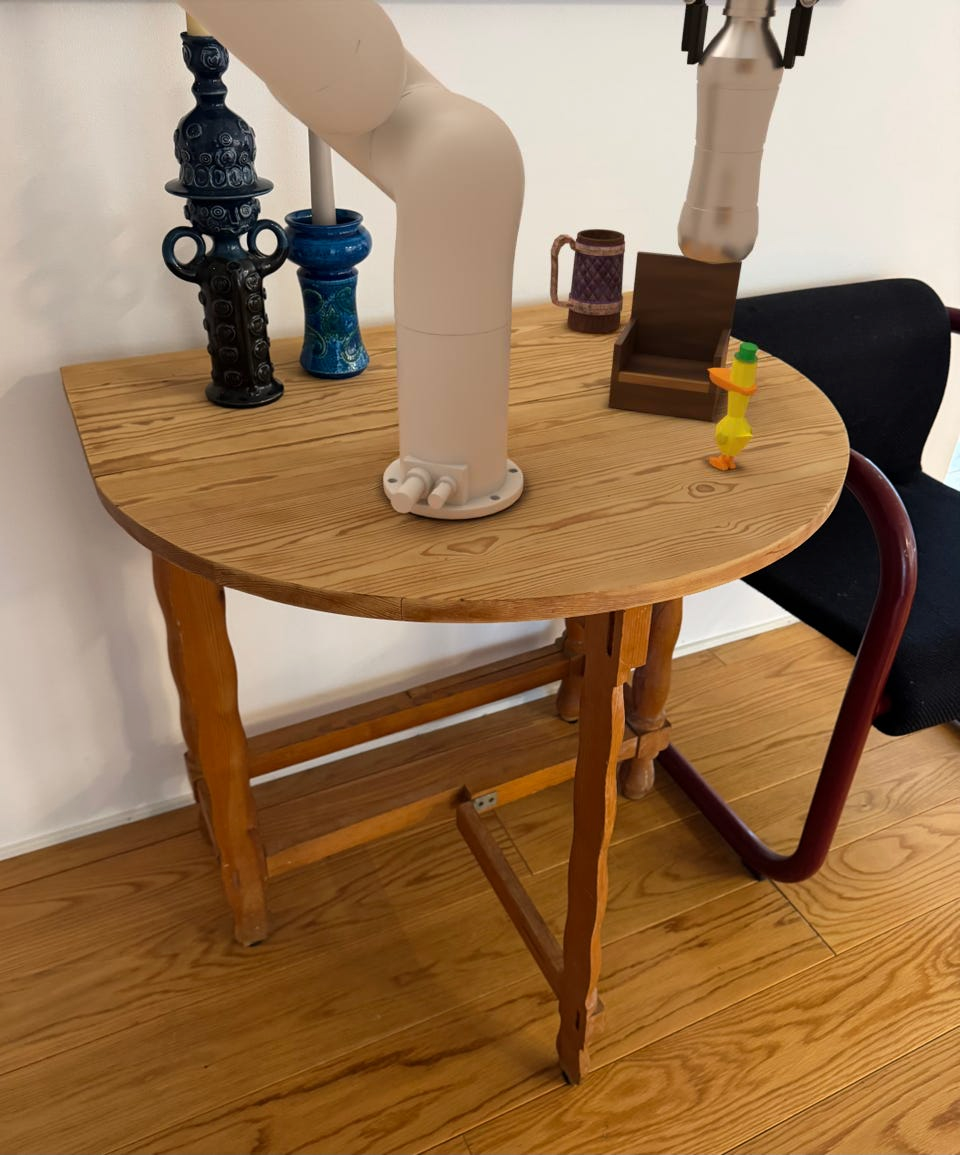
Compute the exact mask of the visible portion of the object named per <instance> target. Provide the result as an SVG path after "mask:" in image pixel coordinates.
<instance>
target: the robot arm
mask: <svg viewBox="0 0 960 1155" xmlns="http://www.w3.org/2000/svg"><path fill="white" fill-rule="evenodd" d="M173 1H174V2H175V3H176V4H177V5H178V6H179V7H181V9H183V10H184V11H185V12H186V13H187V14H188V15H189V16H190V17H191V18H192V19H194V20H195V21H196V22H197V24H199V25H200V26H201V27H202V28H203V29H204V30H206V31H207V32H208V33H209V35H210V36H212V37H213V39H215V40H216V41H217V42H218V43H219V44H220V45H221V46H223V47H224V49H226V50H227V51H229V53H230V54H231V55H233V56H234V57H235V58H236V59H237V60H238V61H239V62H240V63H242V64H243V65H244V66H245V67H246V68H248V70H250V71H251V72H252V74H254V75H256V76H257V78H259V79H260V80H261V81H262V82H263V83H264V85H265V87H266V89H268V91H269V93H270V94H271V96H272V97H273V98H274V99H275V100H276V101H277V102H278V103H279V104H280V106H282V107H283V108H284V109H285V111H287V112H288V113H289V114H290V115H292V116H293V117H294V118H295V119H297V120H298V121H299V122H300V123H301V124H303V125H304V126H305V127H306V128H308V129H309V130H310V131H311V132H312V133H313V134H315V135H316V136H317V137H318V138H319V139H320V140H321V141H322V142H324V143H325V144H326V145H327V146H329V147H330V148H331V149H332V150H333V151H334V152H336V154H338V155H339V156H340V157H341V158H343V159H344V160H345V161H346V162H347V163H349V164H350V165H351V166H352V167H353V168H354V169H356V170H357V171H358V172H359V173H360V174H361V175H362V176H363V177H365V178H366V179H367V180H369V181H370V183H372V184H373V185H374V186H375V187H376V188H377V189H378V190H380V191H381V192H382V193H383V194H384V195H386V196H387V197H388V198H389V199H390V200H391V201H392V202H393V203H394V204H395V210H396V211H395V212H396V229H395V230H396V232H395V242H394V243H395V244H394V254H393V255H394V256H393V257H394V258H393V311H394V312H393V314H394V315H393V316H394V329H395V356H396V357H395V359H396V387H397V389H396V390H397V414H398V416H397V418H398V444H399V446H398V447H399V457H397V458H396V459H395V460H394V461H392V462H391V463H390V464H389V465H388V466H387V467H386V469H385V471H384V473H383V478H382V480H383V481H382V482H383V483H382V484H383V491H384V494H385V495H386V497H387V498H388V500H389V501H390V505H391V507H392V509H393V510H395V511H396V512H397V513H401V514H408V513H412V514H414V515H418V516H422V517H426V518H433V519H438V520H467V519H475V518H482V517H486V516H489V515H493V514H496V513H498V512H501V511H503V510H505V509H507V508H508V507H510V506H512V505H513V504H514V503H516V501H517V500H518V499H520V496H522V493H523V490H524V474H523V472H522V469H521V468H520V467H519V466H518V464H517V463H515V462H514V461H512V460H511V459H510V458H509V457H508V443H509V442H508V438H509V409H510V408H509V407H510V404H509V403H510V379H511V378H510V377H511V349H512V307H513V306H512V305H513V286H514V285H513V284H514V283H513V282H514V269H515V259H516V258H515V257H516V250H517V243H518V236H519V231H520V225H521V220H522V216H523V208H524V204H525V203H524V202H525V190H526V174H525V173H526V172H525V164H524V160H523V155H522V152H521V149H520V146H519V143H518V141H517V139H516V137H515V135H514V133H513V132H512V131H511V129H510V127H509V126H508V124H506V122H505V121H504V119H502V117H500V116H499V114H497V113H496V112H495V111H494V110H492V109H491V108H489V107H488V106H486V105H484V104H483V103H482V102H481V103H480V102H478V101H476V100H474V99H471V98H470V97H467V96H465V95H463V94H458V93H456V92H453V91H451V90H450V89H449V88H447V87H446V86H445V85H444V84H443V83H442V82H441V81H440V80H439V79H437V77H435V76H434V74H432V73H431V72H430V71H429V69H427V68H426V66H424V65H423V64H422V63H421V62H420V61H419V60H418V59H417V58H416V57H415V56H414V55H413V54H412V52H410V51H409V50H408V49H407V48H406V47H405V46H404V44H403V41H402V38H401V36H400V33H399V32H398V29H397V28H396V26H395V24H394V22H393V20H392V19H391V17H390V16H389V15H388V13H387V12H386V11H385V10H384V8H383V7H382V6H381V5H380V4H379V3H378V2H377V1H376V0H173ZM819 1H820V0H795V5H794V7H793V8H791V9H790V14H789V20H788V26H787V32H786V37H785V45H784V51H783V55H782V57H783V62H782V67H784V70H792V69H793V68H794V67H795V64H796V59H797V57H805V56H806V51H807V46H808V40H809V34H810V30H811V23H812V17H813V11H814V6H815V5H816V4H818V3H819ZM682 2H683V3H684V4H685V8H684V17H683V26H682V34H681V42H680V43H681V45H680V51H681V52H687V56H686V65H689V66H694V65H696V64H698V63H699V60H700V58H701V55H702V53H703V51H704V47H705V40H706V32H707V23H708V14H709V5H708V4H707V2H706V0H682Z"/></svg>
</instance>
